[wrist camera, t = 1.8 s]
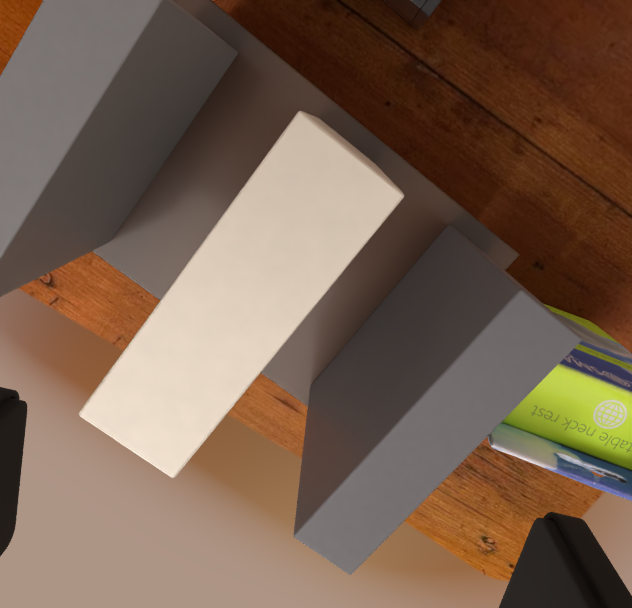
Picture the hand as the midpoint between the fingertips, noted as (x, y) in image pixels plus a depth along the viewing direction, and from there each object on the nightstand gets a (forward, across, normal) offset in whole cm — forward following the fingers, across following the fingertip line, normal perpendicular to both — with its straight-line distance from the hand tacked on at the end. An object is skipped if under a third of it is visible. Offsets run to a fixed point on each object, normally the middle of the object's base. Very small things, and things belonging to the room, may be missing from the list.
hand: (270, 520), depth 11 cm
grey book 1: (+20, +9, -4) cm, 22 cm away
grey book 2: (+20, -5, +2) cm, 20 cm away
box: (+30, -14, +3) cm, 33 cm away
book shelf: (+30, +2, -1) cm, 30 cm away
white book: (+20, +2, -1) cm, 20 cm away
